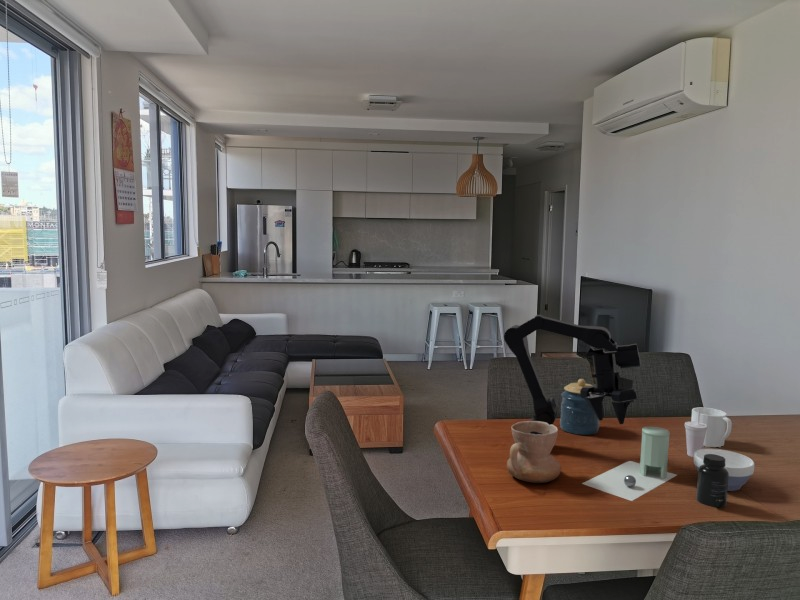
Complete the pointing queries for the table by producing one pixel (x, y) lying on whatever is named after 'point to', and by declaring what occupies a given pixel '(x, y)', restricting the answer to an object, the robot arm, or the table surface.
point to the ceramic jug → (533, 452)
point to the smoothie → (695, 436)
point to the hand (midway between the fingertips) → (611, 422)
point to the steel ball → (629, 481)
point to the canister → (577, 411)
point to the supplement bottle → (712, 481)
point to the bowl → (729, 466)
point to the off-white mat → (616, 486)
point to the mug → (713, 425)
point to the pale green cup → (654, 450)
